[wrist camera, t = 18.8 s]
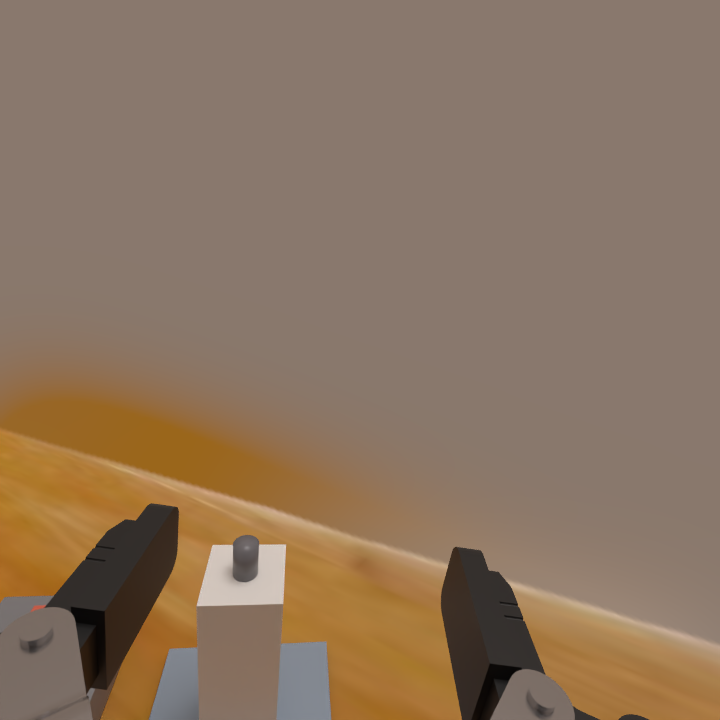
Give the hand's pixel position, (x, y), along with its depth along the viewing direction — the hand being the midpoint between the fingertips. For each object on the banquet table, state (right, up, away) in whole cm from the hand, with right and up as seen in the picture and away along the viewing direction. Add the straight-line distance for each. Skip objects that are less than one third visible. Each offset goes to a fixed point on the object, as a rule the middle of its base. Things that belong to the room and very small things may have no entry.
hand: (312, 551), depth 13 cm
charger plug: (-6, -19, +17) cm, 26 cm away
